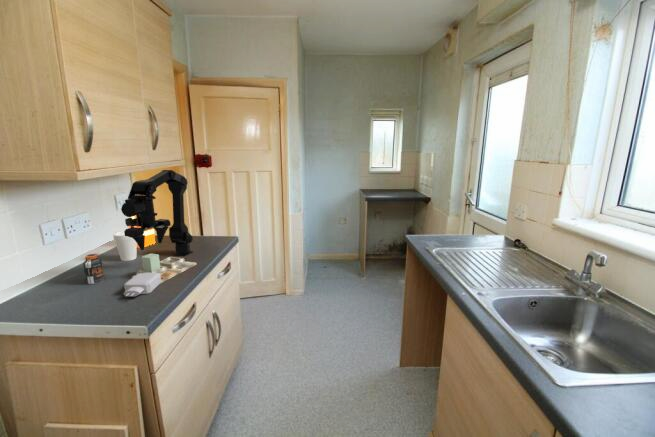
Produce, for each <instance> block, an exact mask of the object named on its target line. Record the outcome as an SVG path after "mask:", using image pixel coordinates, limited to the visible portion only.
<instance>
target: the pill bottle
mask: <svg viewBox="0 0 655 437" xmlns="http://www.w3.org/2000/svg"><path fill="white" fill-rule="evenodd" d="M84 257H85V259H84V261H83V263H82V266H83V270H84V271H83V272H84V277H85V281H86V284H88V285H95V284H96V285H97V284H98V283H102V282H103V281H104V280H105V274H104V267H103V261H102V259H101V258H99V256H98V253H90V254H87V255H86V254H85V256H84Z"/></svg>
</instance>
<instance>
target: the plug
mask: <svg viewBox="0 0 655 437" xmlns="http://www.w3.org/2000/svg"><path fill="white" fill-rule="evenodd" d="M160 261H161V260H160V255H159V254H156V253H148V254H145V255H142V256H141V263H142V269H143V271H144V272H151V273H152V272H154V271H156V270H158V269H160Z"/></svg>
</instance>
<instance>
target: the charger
mask: <svg viewBox="0 0 655 437" xmlns="http://www.w3.org/2000/svg"><path fill="white" fill-rule="evenodd" d="M136 274H137V273H136ZM136 274H134V275H135V276H134V275H133V276H134V277H133V278H132V277H131V278H130V279H129V280H127V281H126V282H125V283H124V284H123V286H124V292H123V295H124V296H125V297H137V296H139V295H148V294H151V293H152V292H153V291H154V290H155V289H156V288H157V287H158V286H159V285H160V284H162V283H161V275H160V274H159V273H139V274H137V275H136Z"/></svg>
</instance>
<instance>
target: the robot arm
mask: <svg viewBox="0 0 655 437" xmlns="http://www.w3.org/2000/svg"><path fill="white" fill-rule="evenodd" d="M163 184H167V188H168V190H169V191H170V193H171V195H172V197H171V198H172V219H173V220H172V223H171V221H170V219H166V218H165V219H164V218H158V219H156V216H158V212H155V207H154V200H156V199H157V197H156V196H154V194H155V192H156V191H157V188H158V187H160V186H162V185H163ZM187 189H188V179H187V178H186V176H184V175H182V174H180V173H177V172H176V171H174V170H172V169H162V170H160V172H158V173H156V174H155V175H153V176H151V177H149V178H147V179H146V178H145V179H140V180H137V181H134V182H133V183H132V186H131V188H130V191H129V194H128V196H127V198H125V200H124V203H123V204H122V206H121V208H120V211H121V212H122V214H123V215H124V216H125V217H127V218H125V219H124V223H125V225H126V226H125V227H128V228H126V229H125V230H123V231H124V233H125V236H128V237H131V238H133V239H134V240H135V241H136V243H137V244H138V246H139V247H140V248H139V249H140V250H141V251H144V250H145V247H144V245H145V235H143V234H144V231H146V230H149V229H153V228H154V231H155V232H156V237H157V242H158V244H162V242H163V240H164V236H165V234H166V232H167V231H168V236H169V239H170V241H171V244H175V248H174V249H175V253H173V255H175V256H181V257H182V256H183V257H184V256H187V255H189V254H191V253H193V250H191V247H190V244H191V243H192V242H193V236H192V234H191V233H189V228H188V225H187V224H186V223H185V205H184V204H185V203H184V194H185V193H186V191H187ZM135 215H136V218H135V219H132V218H129V217H132V216H135ZM171 224H172V225H171ZM129 226H131V228H129ZM134 226H137V227H134ZM138 227H141V228H138Z"/></svg>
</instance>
